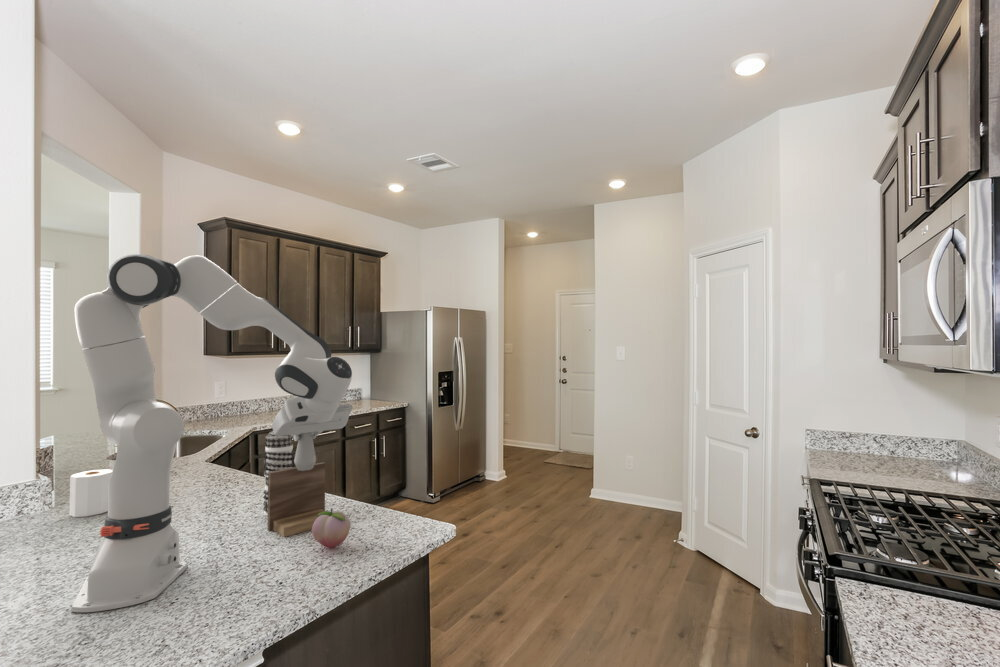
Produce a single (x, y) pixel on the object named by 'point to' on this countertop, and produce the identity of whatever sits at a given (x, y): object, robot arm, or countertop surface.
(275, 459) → the decorative candle
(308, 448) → the salt shaker
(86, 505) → the toilet paper
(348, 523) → the decorative fruit
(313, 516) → the cleat board
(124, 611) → the countertop surface
